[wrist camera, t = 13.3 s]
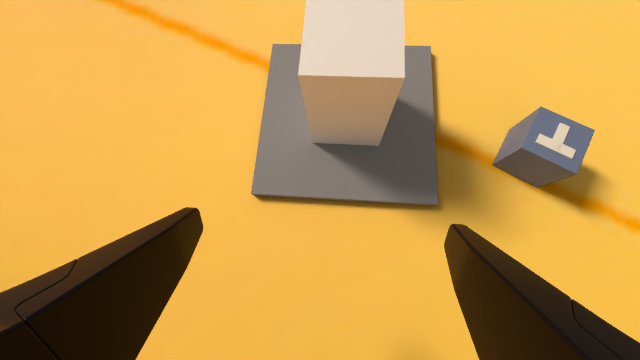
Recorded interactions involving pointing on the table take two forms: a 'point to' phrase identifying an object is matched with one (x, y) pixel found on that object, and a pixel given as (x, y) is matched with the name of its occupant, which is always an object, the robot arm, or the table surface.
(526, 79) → the table surface
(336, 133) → the white tall block
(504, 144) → the letter cube
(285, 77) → the mat
